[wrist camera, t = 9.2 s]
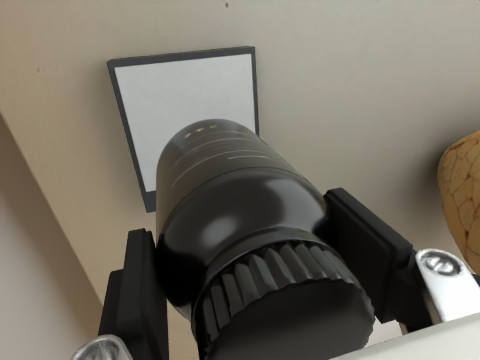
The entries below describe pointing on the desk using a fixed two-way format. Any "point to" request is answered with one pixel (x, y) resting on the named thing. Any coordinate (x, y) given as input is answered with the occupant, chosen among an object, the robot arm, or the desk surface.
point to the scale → (180, 100)
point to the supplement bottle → (252, 251)
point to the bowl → (462, 195)
